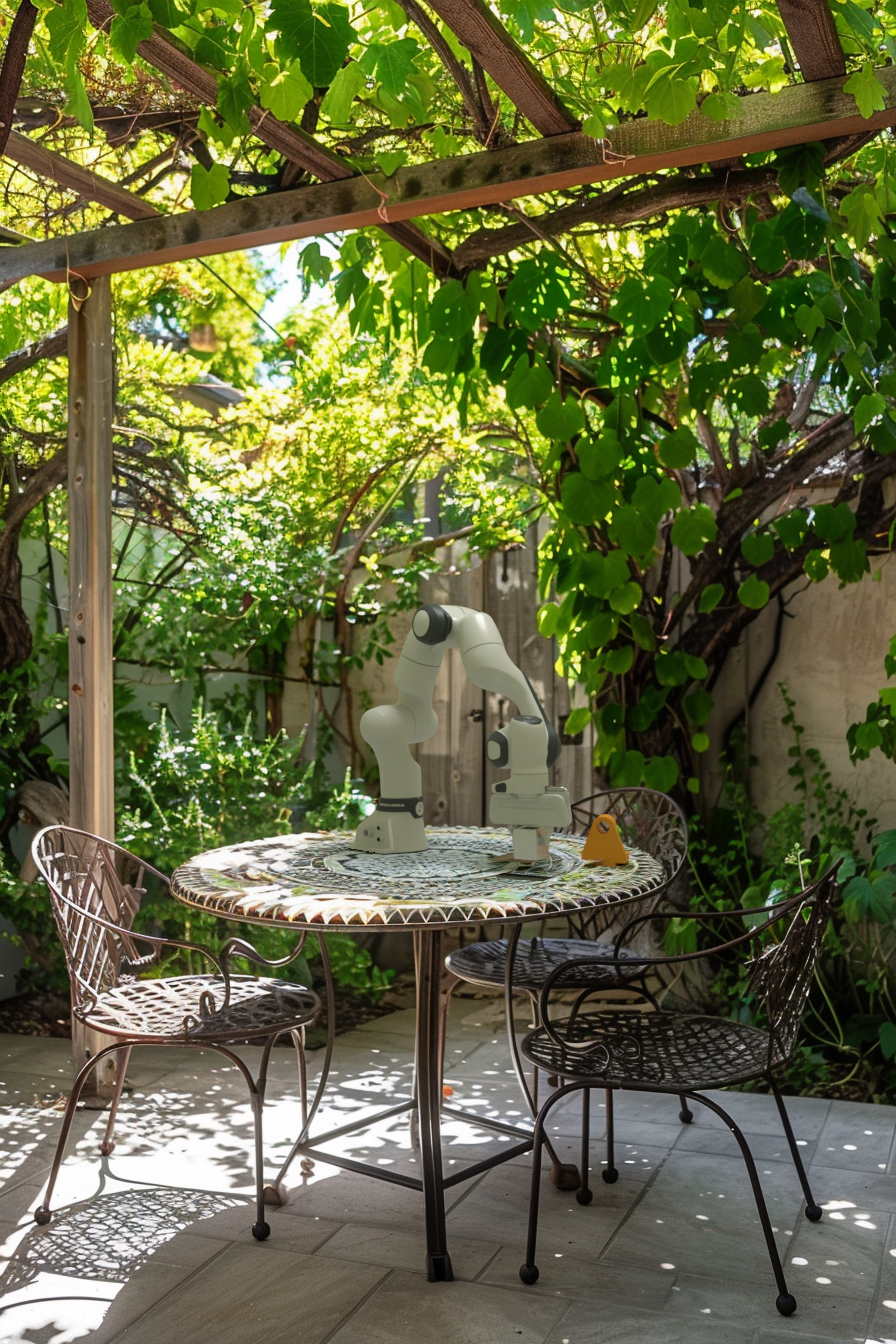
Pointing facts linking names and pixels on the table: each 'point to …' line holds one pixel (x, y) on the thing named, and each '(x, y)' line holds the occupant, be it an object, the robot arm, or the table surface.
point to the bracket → (604, 844)
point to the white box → (529, 843)
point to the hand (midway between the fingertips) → (531, 844)
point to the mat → (523, 877)
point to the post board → (512, 858)
